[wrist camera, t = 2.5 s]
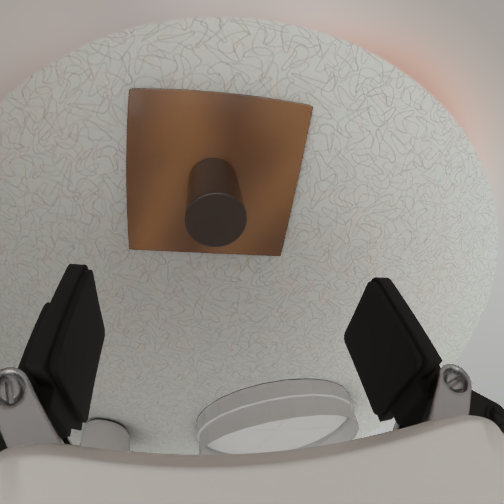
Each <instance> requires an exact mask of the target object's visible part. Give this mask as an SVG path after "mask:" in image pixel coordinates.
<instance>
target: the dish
mask: <svg viewBox="0 0 504 504" xmlns="http://www.w3.org/2000/svg"><path fill="white" fill-rule="evenodd" d="M196 429H197V441H198V443H199V455H227V454H249V453H263V452H275V451H284V450H293V449H301V448H308V447H315V446H322V445H328V444H334V443H339V442H345V441H350V440H352V439H353V438H354V437H355V436H356V434H357V432H358V430H359V427H358V422H357V419H356V417H355V414H354V407H353V404H352V402H351V399H350V396H349V394H348V392H347V391H346V390H345V389H344V388H343V387H342V386H341V385H338V384H335V383H333V382H330V381H324V380H316V379H297V380H284V381H278V382H272V383H266V384H261V385H257V386H254V387H250V388H246V389H243V390H239V391H237V392H234V393H232V394H230V395H227V396H225V397H223V398H220V399H218V400H217V401H215V402H214V403H212V404H211V405H209V406H208V407H206V408H205V409H204V410H203V412H202V413H201V414H200V415H199V417H198V419H197V425H196Z"/></svg>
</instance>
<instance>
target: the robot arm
mask: <svg viewBox="0 0 504 504" xmlns="http://www.w3.org/2000/svg"><path fill="white" fill-rule="evenodd" d="M104 337H105V329H104V324H103V320H102V315H101V311H100V306H99V301H98V297H97V291H96V286H95V281H94V275H93V271H92V270H88V267H87V266H86V265H79V264H69V266H68V267H67V269H66V271H65V273H64V275H63V277H62V279H61V281H60V283H59V285H58V287H57V289H56V291H55V294H54V296H53V298H52V300H51V302H50V303H49V302H48V303H46V304H45V305H44V307H43V309H42V311H41V313H40V315H39V318H38V320H37V322H36V324H35V327H34V329H33V331H32V334H31V336H30V339H29V341H28V343H27V346H26V348H25V351H24V354H23V356H22V359H21V361H20V364H19V367H18V369H17V368H14V367H7V368H4V369H1V370H0V504H504V409H503V408H502V407H501V406H500V405H498V404H497V403H495V402H493V401H491V400H489V399H488V398H486V397H484V396H482V395H480V394H478V393H476V392H474V391H473V390H471V388H472V386H471V380H470V378H469V376H468V375H467V373H466V372H465V371H464V370H463V369H462V368H460V367H459V366H456V365H454V364H447V365H444V366H443V367H442V368H440V366H439V364H440V363H441V362H442V359H441V358H440V356H439V354H438V353H437V351H436V349H435V348H434V346H433V344H432V343H431V341H430V339H429V338H428V336H427V334H426V333H425V331H424V330H423V328H422V326H421V325H420V323H419V322H418V320H417V319H416V317H415V315H414V314H413V312H412V311H411V309H410V308H409V306H408V305H407V303H406V302H405V300H404V299H403V297H402V296H401V294H400V293H399V291H398V290H397V288H396V287H395V285H394V284H393V282H392V281H391V280H390V279H389V278H373V279H372V281H371V282H369V283H368V284H367V286H366V288H365V291H364V293H363V295H362V297H361V300H360V302H359V304H358V306H357V308H356V310H355V313H354V315H353V317H352V319H351V321H350V323H349V325H348V327H347V329H346V332H345V335H344V340H345V343H346V346H347V348H348V351H349V353H350V355H351V358H352V360H353V363H354V365H355V367H356V370H357V372H358V375H359V377H360V380H361V382H362V385H363V387H364V390H365V392H366V395H367V397H368V400H369V402H370V405H371V407H372V410H373V412H374V413H375V414H376V415H378V417H379V420H380V422H381V421H385V420H389V419H392V418H393V417H394V418H395V420H396V423H395V426H394V428H393V431H390V432H386V433H382V434H378V435H373V436H369V437H364V438H360V439H355V440H350V441H345V442H339V443H334V444H328V445H322V446H315V447H308V448H301V449H293V450H284V451H275V452H263V453H249V454H227V455H177V454H157V453H143V452H130V451H119V450H110V449H102V448H95V447H86V446H77V445H73V444H72V443H71V441H70V440H69V438H68V437H69V436H70V434H71V429H76V430H81V428H82V422H84V423H86V422H87V420H88V415H89V409H90V404H91V398H92V393H93V387H94V382H95V377H96V373H97V368H98V363H99V359H100V354H101V350H102V346H103V342H104Z"/></svg>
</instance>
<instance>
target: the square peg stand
mask: <svg viewBox="0 0 504 504" xmlns="http://www.w3.org/2000/svg"><path fill="white" fill-rule="evenodd" d="M312 109H313V107H312V106H310V105H307V104H302V103H296V102H291V101H285V100H278V99H272V98H265V97H258V96H250V95H242V94H233V93H223V92H212V91H198V90H182V89H151V88H132V89H130V90H129V100H128V118H127V152H126V184H127V218H128V237H129V249H135V250H156V251H178V252H200V253H222V254H244V255H266V256H281V252H282V248H283V243H284V239H285V235H286V230H287V226H288V221H289V217H290V213H291V208H292V204H293V199H294V195H295V190H296V186H297V181H298V176H299V172H300V167H301V162H302V158H303V153H304V148H305V144H306V139H307V134H308V129H309V124H310V119H311V114H312Z"/></svg>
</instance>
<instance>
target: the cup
mask: <svg viewBox="0 0 504 504" xmlns="http://www.w3.org/2000/svg"><path fill="white" fill-rule="evenodd" d="M80 446H86V447H95V448H102V449H110V450H119V451H130V442H129V435H128V432H127V431H126V429H125V428H124V427H122V426H121V425H119V424H117V423H114V422H111V421H107V420H100V419H97V420H91V421H89V422H88V423H87V424H86V426H85V428H84V431H83V435H82V439H81V443H80Z"/></svg>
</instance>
